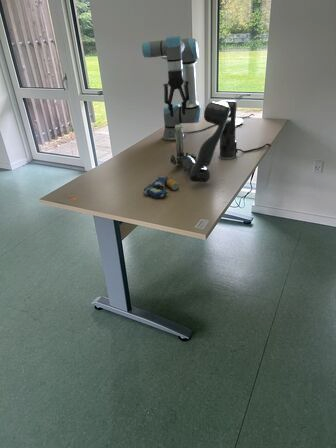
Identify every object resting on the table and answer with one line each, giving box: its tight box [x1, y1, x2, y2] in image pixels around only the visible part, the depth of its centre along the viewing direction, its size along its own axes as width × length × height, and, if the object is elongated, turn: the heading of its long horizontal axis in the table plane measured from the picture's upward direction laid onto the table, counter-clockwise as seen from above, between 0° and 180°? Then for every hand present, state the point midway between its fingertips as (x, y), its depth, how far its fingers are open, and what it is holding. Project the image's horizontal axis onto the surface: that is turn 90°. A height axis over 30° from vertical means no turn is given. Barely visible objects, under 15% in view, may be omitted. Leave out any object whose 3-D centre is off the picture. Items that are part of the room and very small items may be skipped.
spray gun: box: [143, 175, 180, 199], centre depth 172 cm, size 21×4×15 cm
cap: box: [175, 124, 183, 130], centre depth 188 cm, size 4×4×2 cm
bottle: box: [175, 129, 185, 168], centre depth 194 cm, size 4×4×24 cm
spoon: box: [236, 117, 244, 127], centre depth 260 cm, size 35×11×2 cm, turn 159°
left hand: (177, 115), depth 185 cm, fingers open, 6 cm apart
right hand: (179, 155), depth 198 cm, fingers open, 8 cm apart
